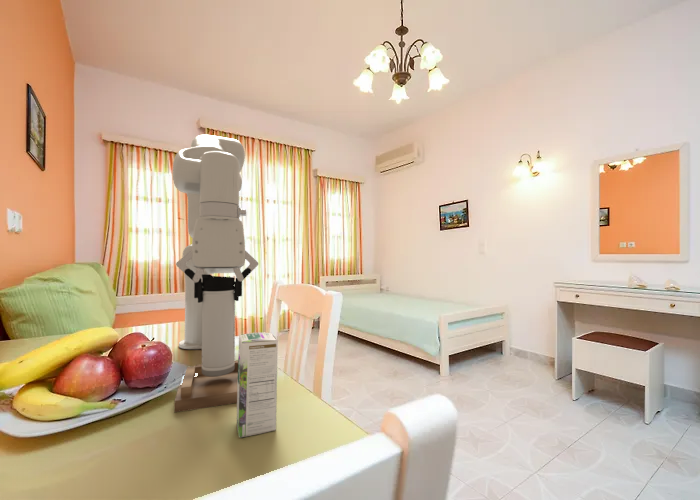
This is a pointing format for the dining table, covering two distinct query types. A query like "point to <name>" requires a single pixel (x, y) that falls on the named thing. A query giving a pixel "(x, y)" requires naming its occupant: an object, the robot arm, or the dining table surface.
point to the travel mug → (218, 325)
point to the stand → (206, 389)
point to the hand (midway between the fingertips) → (218, 300)
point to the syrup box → (257, 384)
